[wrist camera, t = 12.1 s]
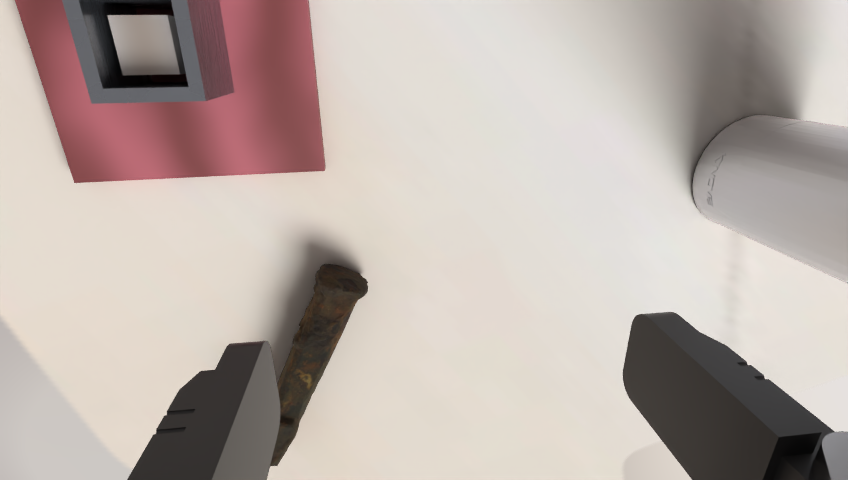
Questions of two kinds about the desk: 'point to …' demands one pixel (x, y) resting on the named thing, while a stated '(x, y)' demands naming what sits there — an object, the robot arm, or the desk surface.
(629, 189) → the desk surface
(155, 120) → the post base
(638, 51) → the desk surface
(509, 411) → the desk surface
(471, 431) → the desk surface
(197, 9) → the square socket
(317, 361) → the hand tool
